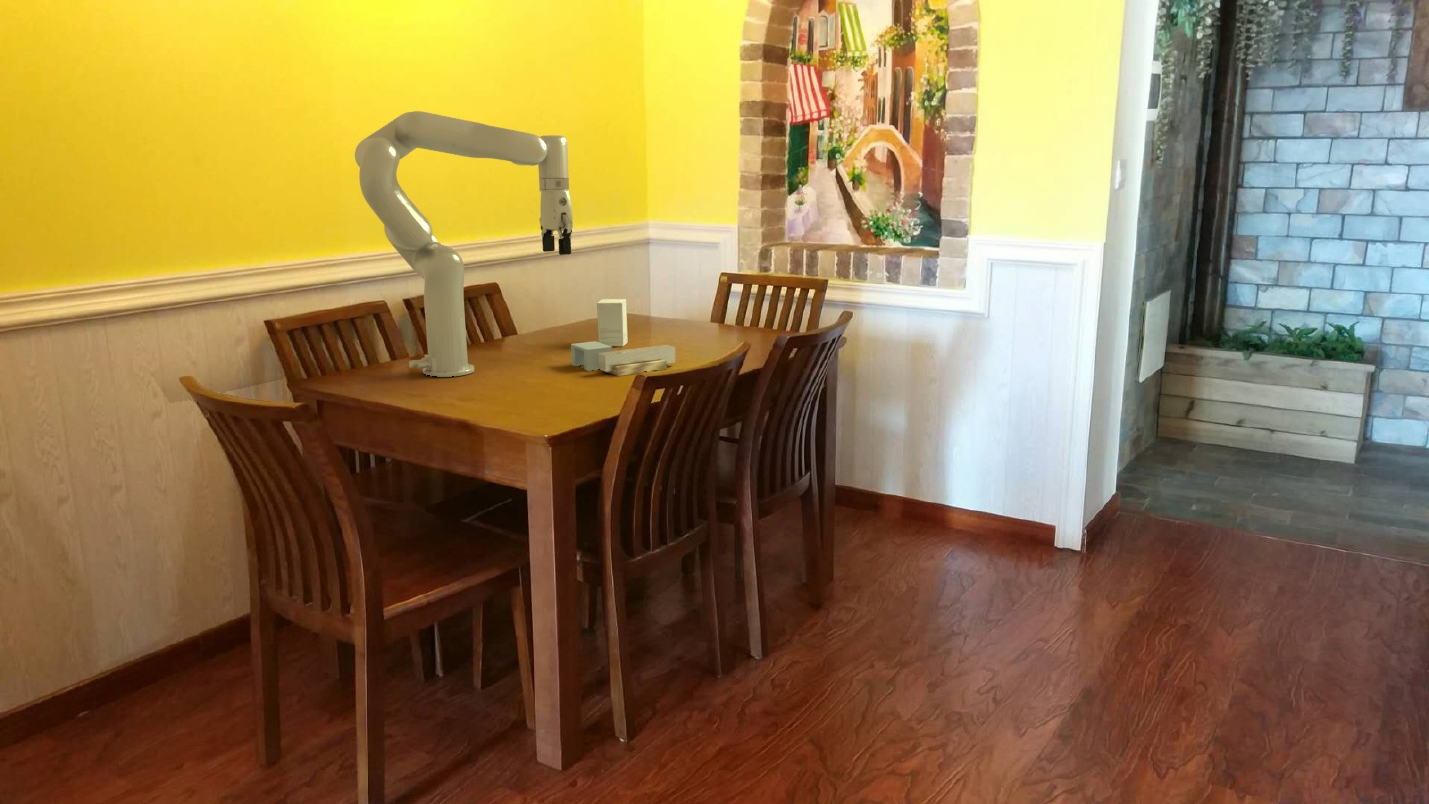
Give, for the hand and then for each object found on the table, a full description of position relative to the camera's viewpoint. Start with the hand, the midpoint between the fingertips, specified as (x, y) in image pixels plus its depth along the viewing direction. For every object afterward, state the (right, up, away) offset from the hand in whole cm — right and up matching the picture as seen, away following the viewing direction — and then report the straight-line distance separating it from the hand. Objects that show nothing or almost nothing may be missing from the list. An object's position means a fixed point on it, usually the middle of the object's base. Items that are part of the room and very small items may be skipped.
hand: (556, 252), depth 269 cm
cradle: (+21, -30, -6) cm, 37 cm away
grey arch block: (+9, -29, -1) cm, 31 cm away
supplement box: (+12, -22, +28) cm, 38 cm away
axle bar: (+21, -29, -5) cm, 37 cm away
